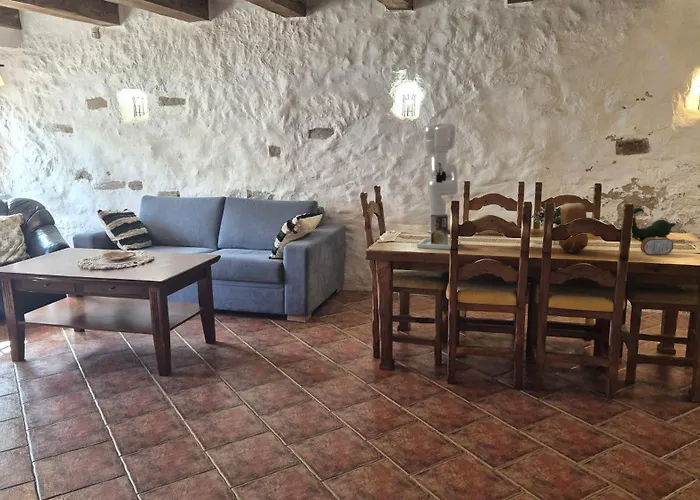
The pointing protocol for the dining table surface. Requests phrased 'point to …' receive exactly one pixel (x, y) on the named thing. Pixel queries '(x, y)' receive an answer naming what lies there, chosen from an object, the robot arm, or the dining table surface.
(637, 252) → the dining table surface
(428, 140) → the robot arm
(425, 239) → the tray
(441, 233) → the coffee box
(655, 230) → the toy figurine
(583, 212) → the butternut squash
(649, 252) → the tin
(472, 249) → the dining table surface
